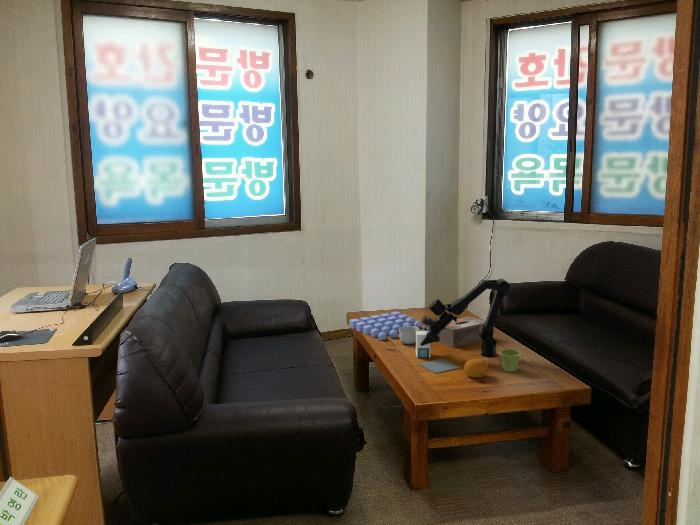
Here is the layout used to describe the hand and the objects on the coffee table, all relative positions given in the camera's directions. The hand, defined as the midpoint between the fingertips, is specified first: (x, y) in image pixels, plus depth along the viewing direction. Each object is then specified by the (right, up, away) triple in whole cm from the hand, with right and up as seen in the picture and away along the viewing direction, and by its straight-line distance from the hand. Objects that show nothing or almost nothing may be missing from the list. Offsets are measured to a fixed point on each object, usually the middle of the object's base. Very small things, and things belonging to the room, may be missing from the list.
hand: (420, 343), depth 295 cm
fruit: (+22, -11, -28) cm, 37 cm away
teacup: (-3, -3, +24) cm, 24 cm away
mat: (+7, -9, -15) cm, 19 cm away
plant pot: (+39, -10, -21) cm, 46 cm away
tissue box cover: (+26, -2, +26) cm, 37 cm away
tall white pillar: (+1, -6, +1) cm, 7 cm away
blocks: (-12, +1, +49) cm, 50 cm away
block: (+1, -7, +1) cm, 7 cm away
